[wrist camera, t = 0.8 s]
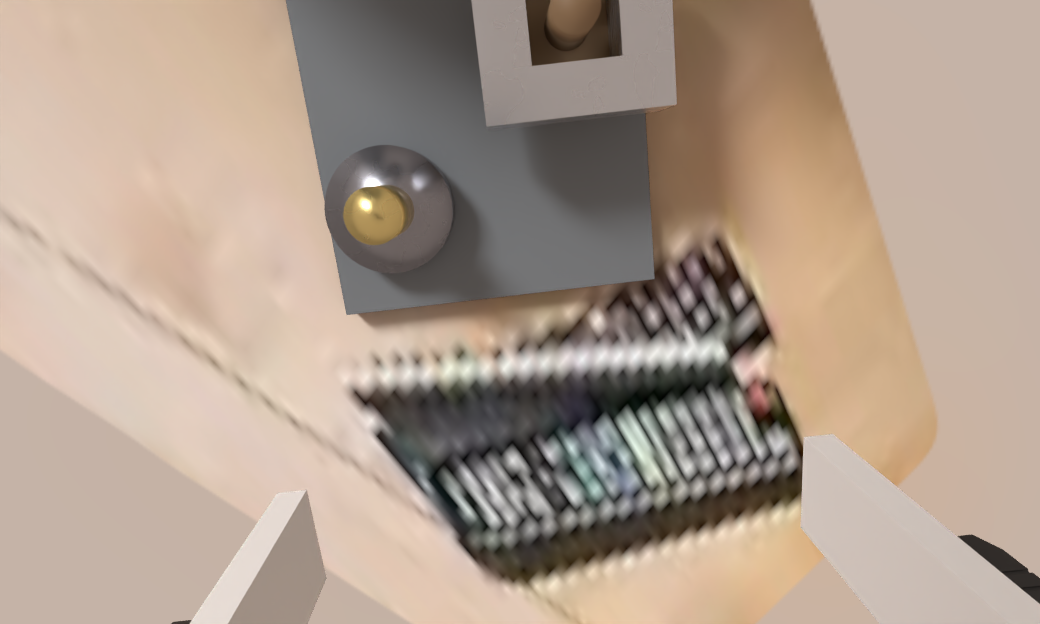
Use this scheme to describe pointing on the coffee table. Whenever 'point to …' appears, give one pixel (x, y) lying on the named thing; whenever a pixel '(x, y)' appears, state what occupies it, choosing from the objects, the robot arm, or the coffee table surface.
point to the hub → (389, 208)
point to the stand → (567, 30)
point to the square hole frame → (575, 67)
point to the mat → (470, 158)
